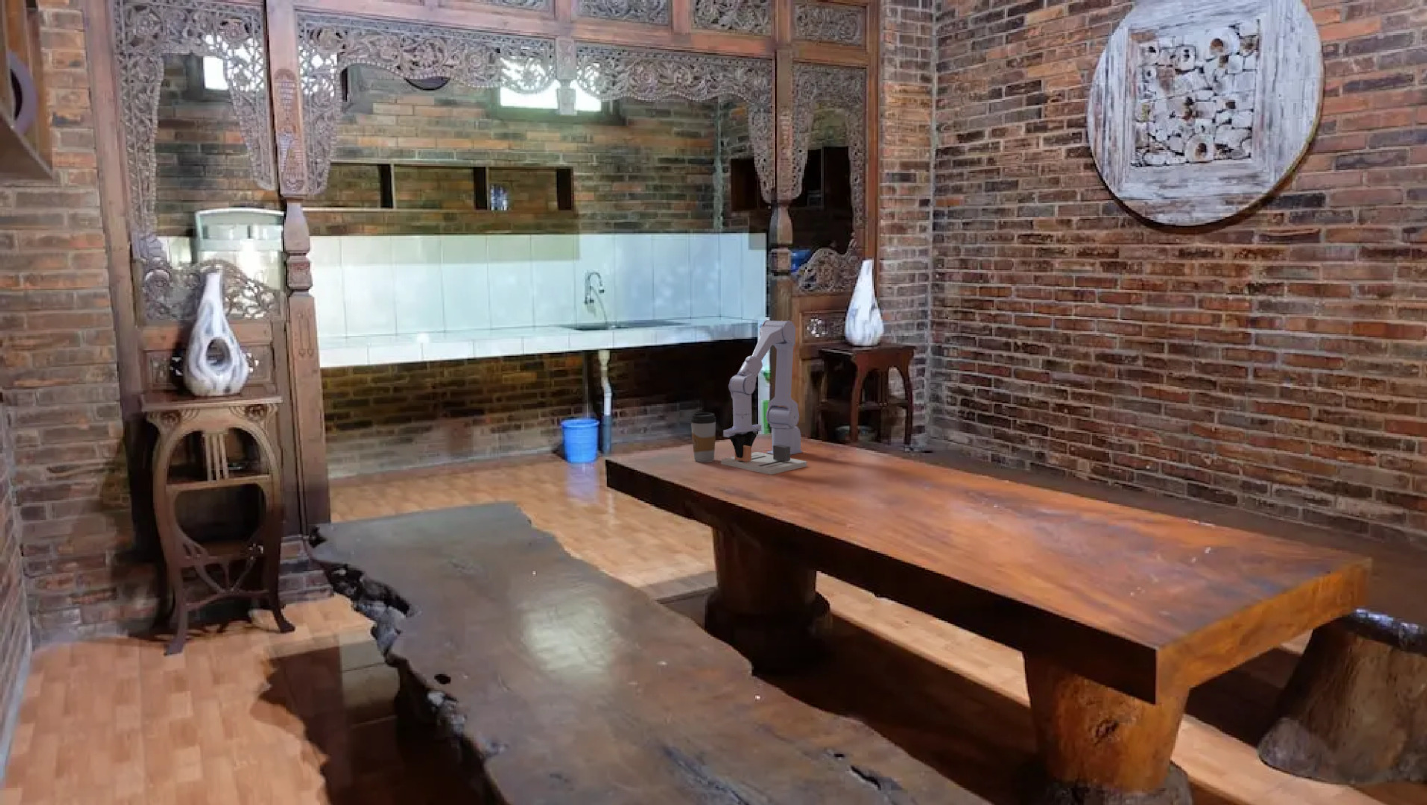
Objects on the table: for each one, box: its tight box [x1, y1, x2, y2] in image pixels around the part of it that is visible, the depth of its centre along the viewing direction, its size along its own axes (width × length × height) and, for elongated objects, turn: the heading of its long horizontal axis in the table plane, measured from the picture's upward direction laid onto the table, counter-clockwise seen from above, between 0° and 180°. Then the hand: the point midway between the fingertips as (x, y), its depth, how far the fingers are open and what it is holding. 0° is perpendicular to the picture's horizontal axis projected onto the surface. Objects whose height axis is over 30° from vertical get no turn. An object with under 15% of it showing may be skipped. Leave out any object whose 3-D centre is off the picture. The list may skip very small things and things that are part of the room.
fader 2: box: [772, 444, 791, 462], centre depth 307 cm, size 2×5×4 cm, turn 42°
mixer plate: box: [720, 451, 808, 475], centre depth 309 cm, size 16×22×2 cm
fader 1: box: [734, 445, 752, 461], centre depth 309 cm, size 2×5×4 cm, turn 42°
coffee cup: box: [690, 412, 717, 463], centre depth 317 cm, size 8×8×15 cm
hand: (743, 456), depth 309 cm, fingers closed on fader 1, 2 cm apart
